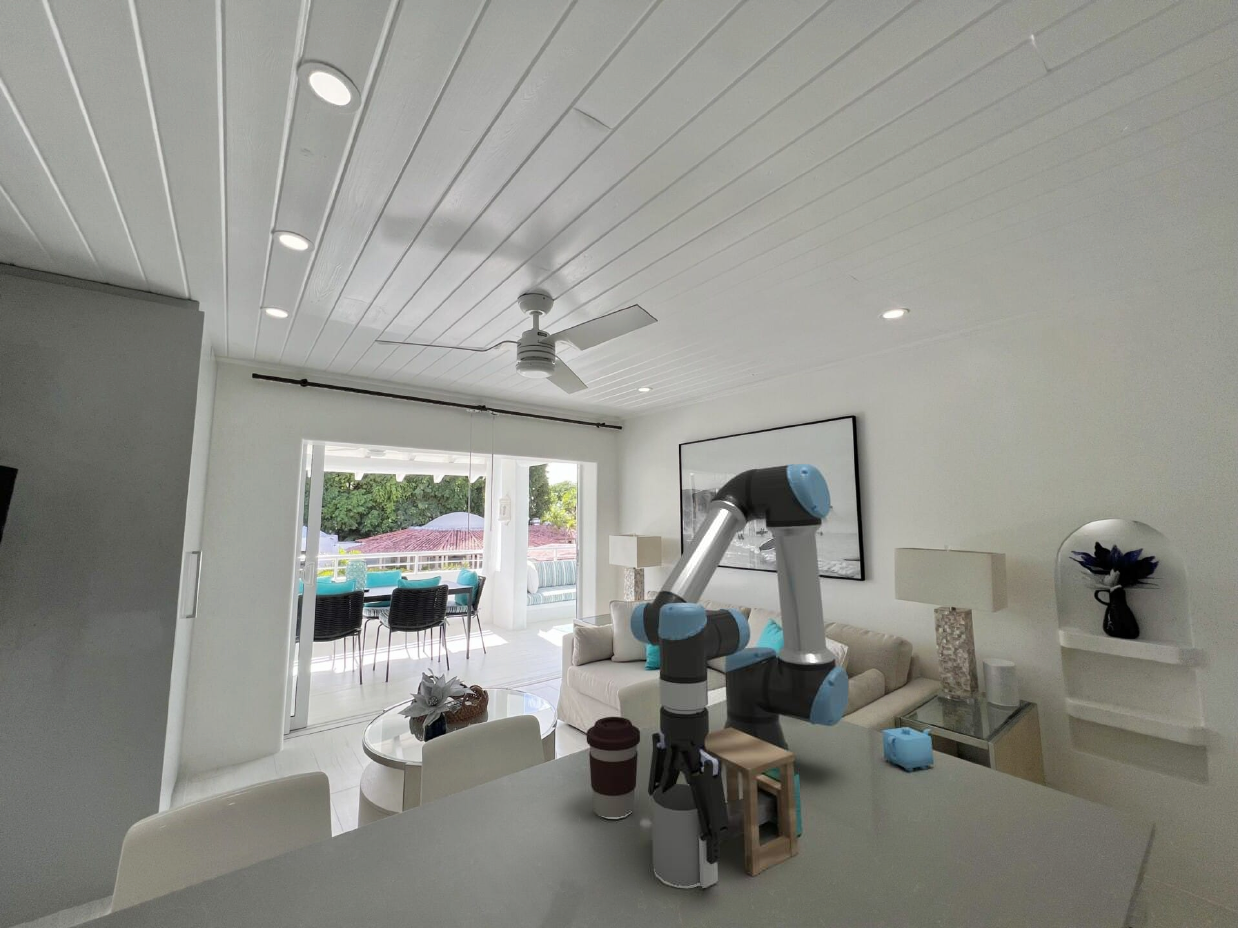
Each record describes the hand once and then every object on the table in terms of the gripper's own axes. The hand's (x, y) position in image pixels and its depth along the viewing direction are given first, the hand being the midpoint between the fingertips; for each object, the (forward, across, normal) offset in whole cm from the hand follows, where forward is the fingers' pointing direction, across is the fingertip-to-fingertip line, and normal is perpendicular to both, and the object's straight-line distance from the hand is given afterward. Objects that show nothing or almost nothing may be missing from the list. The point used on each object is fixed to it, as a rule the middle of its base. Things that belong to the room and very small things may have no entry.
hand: (687, 866), depth 76 cm
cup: (0, 0, +1) cm, 1 cm away
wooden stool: (0, 0, -13) cm, 13 cm away
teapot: (0, 0, -64) cm, 64 cm away
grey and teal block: (0, 0, -12) cm, 12 cm away
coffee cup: (0, +20, 0) cm, 20 cm away
